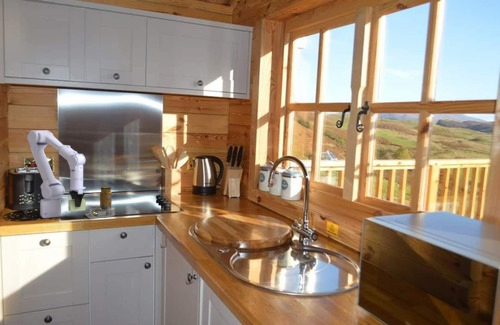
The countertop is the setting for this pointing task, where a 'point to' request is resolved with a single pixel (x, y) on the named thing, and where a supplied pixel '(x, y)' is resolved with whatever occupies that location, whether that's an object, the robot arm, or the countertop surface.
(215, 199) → the countertop surface
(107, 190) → the condiment
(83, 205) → the pale green block
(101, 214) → the chassis
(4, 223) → the countertop surface
